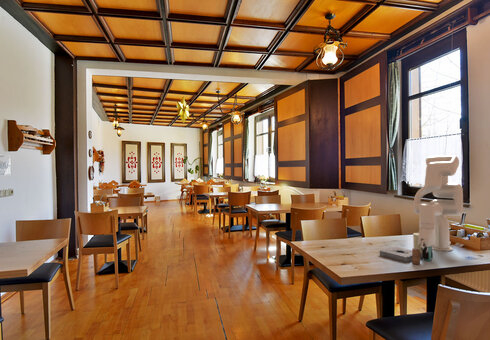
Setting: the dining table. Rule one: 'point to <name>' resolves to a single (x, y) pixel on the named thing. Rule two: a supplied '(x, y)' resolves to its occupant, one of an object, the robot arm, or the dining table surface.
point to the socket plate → (398, 254)
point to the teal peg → (429, 253)
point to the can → (416, 241)
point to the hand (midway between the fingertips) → (427, 258)
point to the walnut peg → (416, 256)
